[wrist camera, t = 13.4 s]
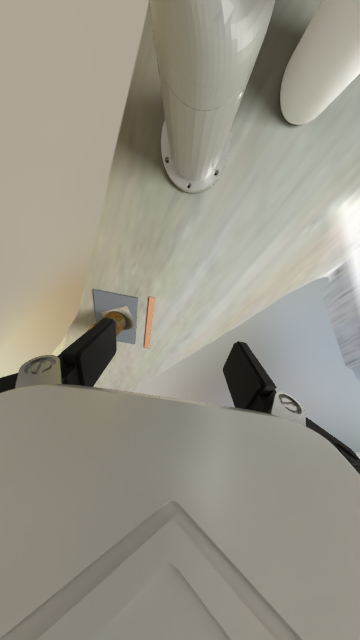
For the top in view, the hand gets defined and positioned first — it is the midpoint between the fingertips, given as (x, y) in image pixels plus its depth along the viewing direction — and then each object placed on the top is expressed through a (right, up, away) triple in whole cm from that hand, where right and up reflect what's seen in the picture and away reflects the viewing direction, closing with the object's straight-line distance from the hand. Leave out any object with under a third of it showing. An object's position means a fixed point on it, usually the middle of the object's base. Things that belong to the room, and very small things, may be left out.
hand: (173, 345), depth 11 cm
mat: (-19, +2, +31) cm, 36 cm away
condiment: (-18, +2, +30) cm, 35 cm away
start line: (-9, +1, +31) cm, 33 cm away
